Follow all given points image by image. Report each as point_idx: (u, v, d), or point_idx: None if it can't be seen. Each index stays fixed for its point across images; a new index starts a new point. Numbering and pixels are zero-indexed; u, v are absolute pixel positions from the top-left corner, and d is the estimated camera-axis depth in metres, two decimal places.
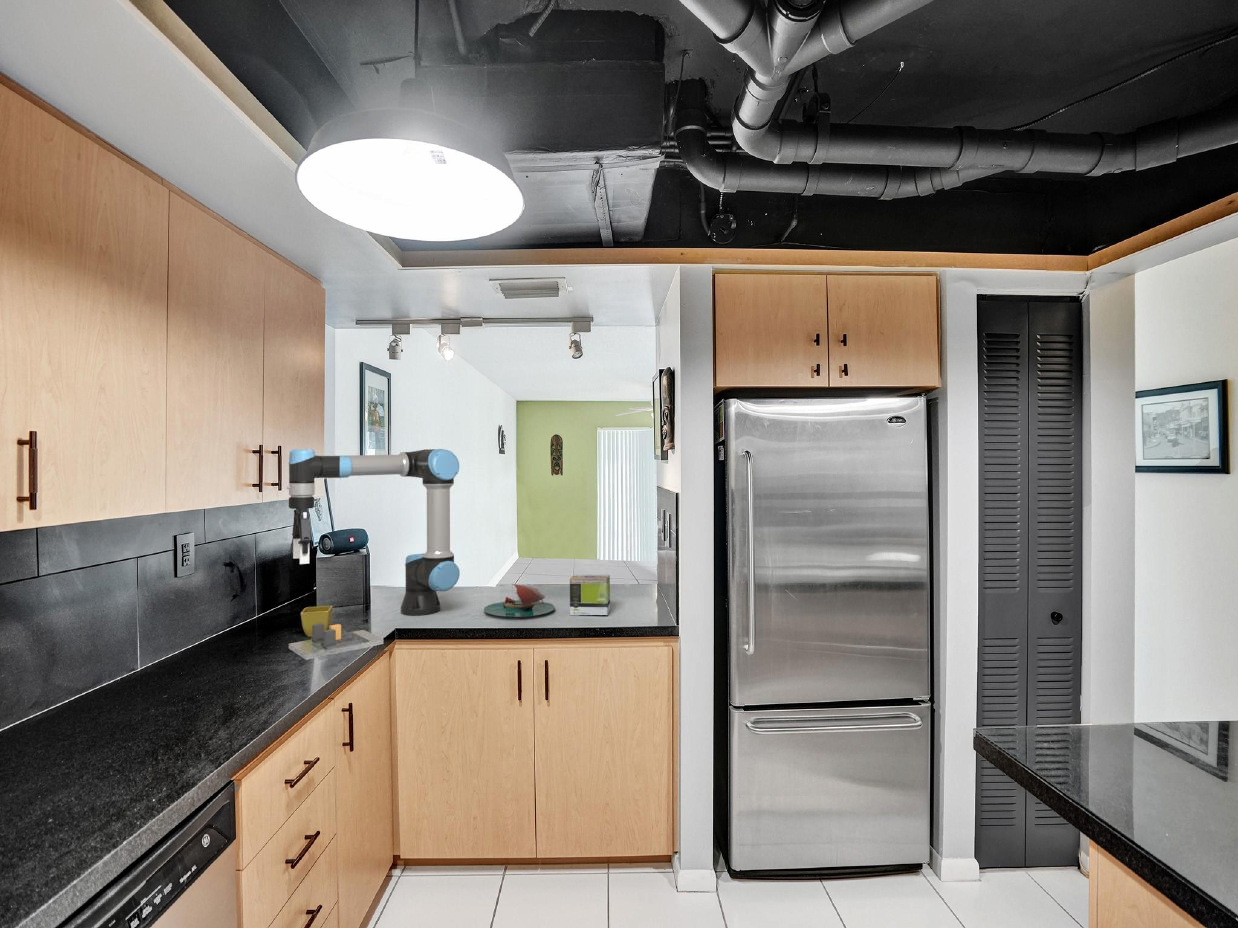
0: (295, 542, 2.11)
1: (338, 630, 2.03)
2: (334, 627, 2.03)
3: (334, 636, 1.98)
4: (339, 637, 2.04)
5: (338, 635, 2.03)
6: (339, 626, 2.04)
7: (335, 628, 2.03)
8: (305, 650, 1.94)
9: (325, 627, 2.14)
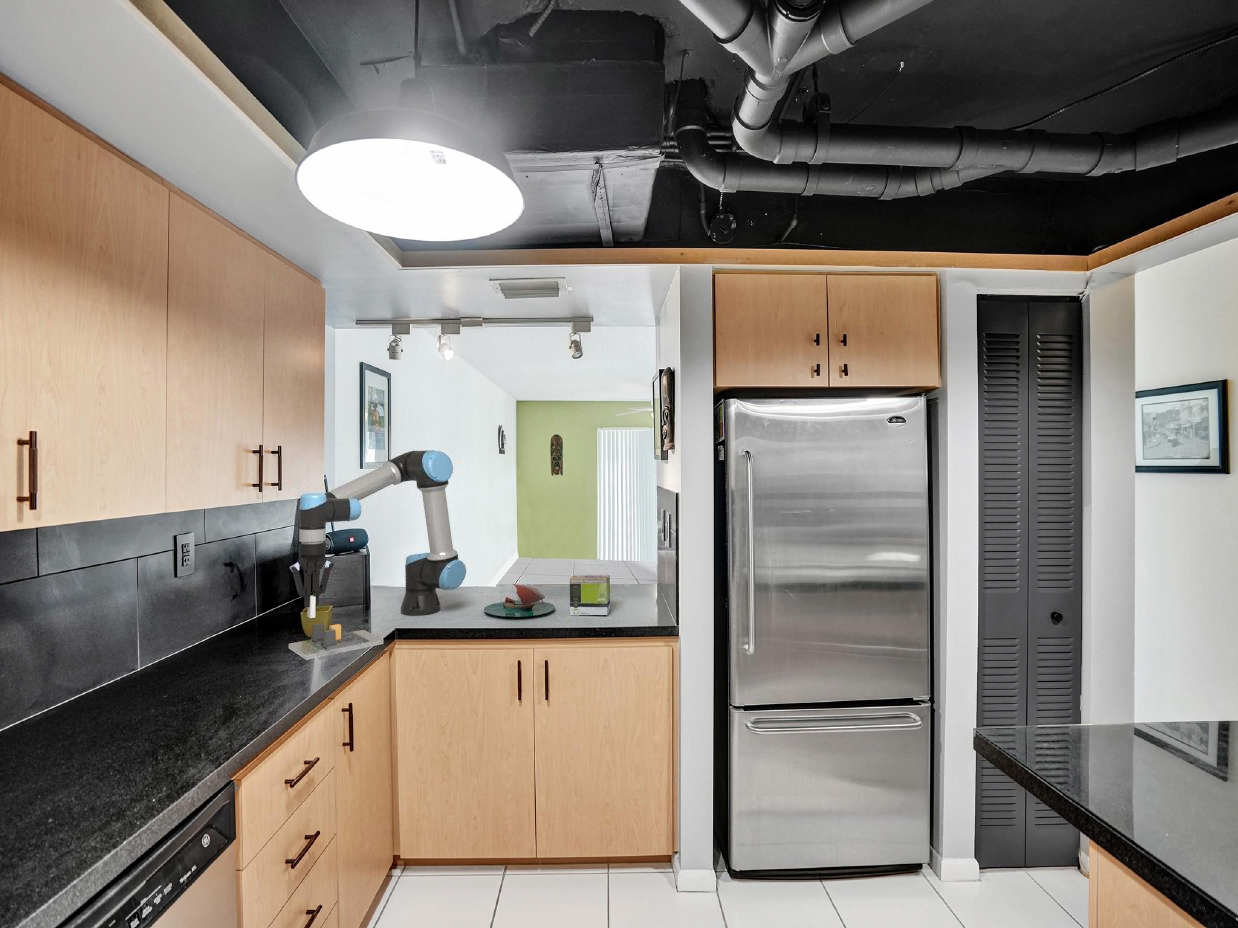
0: None
1: (338, 630, 2.03)
2: (334, 627, 2.03)
3: (334, 636, 1.98)
4: (339, 637, 2.04)
5: (338, 635, 2.03)
6: (339, 626, 2.04)
7: (335, 628, 2.03)
8: (305, 650, 1.94)
9: (325, 627, 2.14)
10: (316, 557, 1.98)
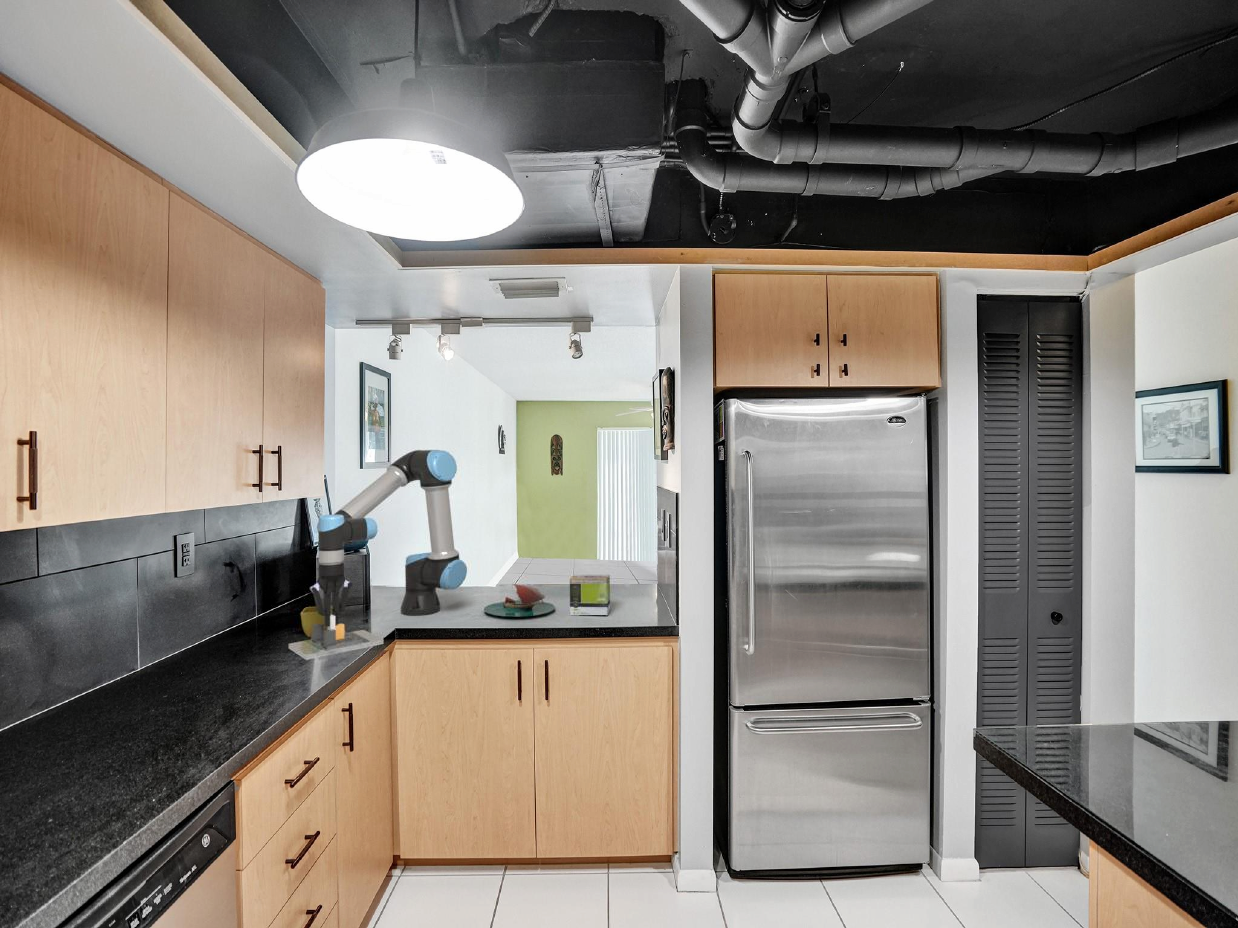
0: None
1: (341, 629, 2.04)
2: (337, 626, 2.03)
3: (334, 636, 1.98)
4: (342, 636, 2.04)
5: (341, 634, 2.04)
6: (342, 625, 2.04)
7: (338, 627, 2.04)
8: (305, 650, 1.94)
9: (325, 627, 2.14)
10: (335, 577, 2.03)
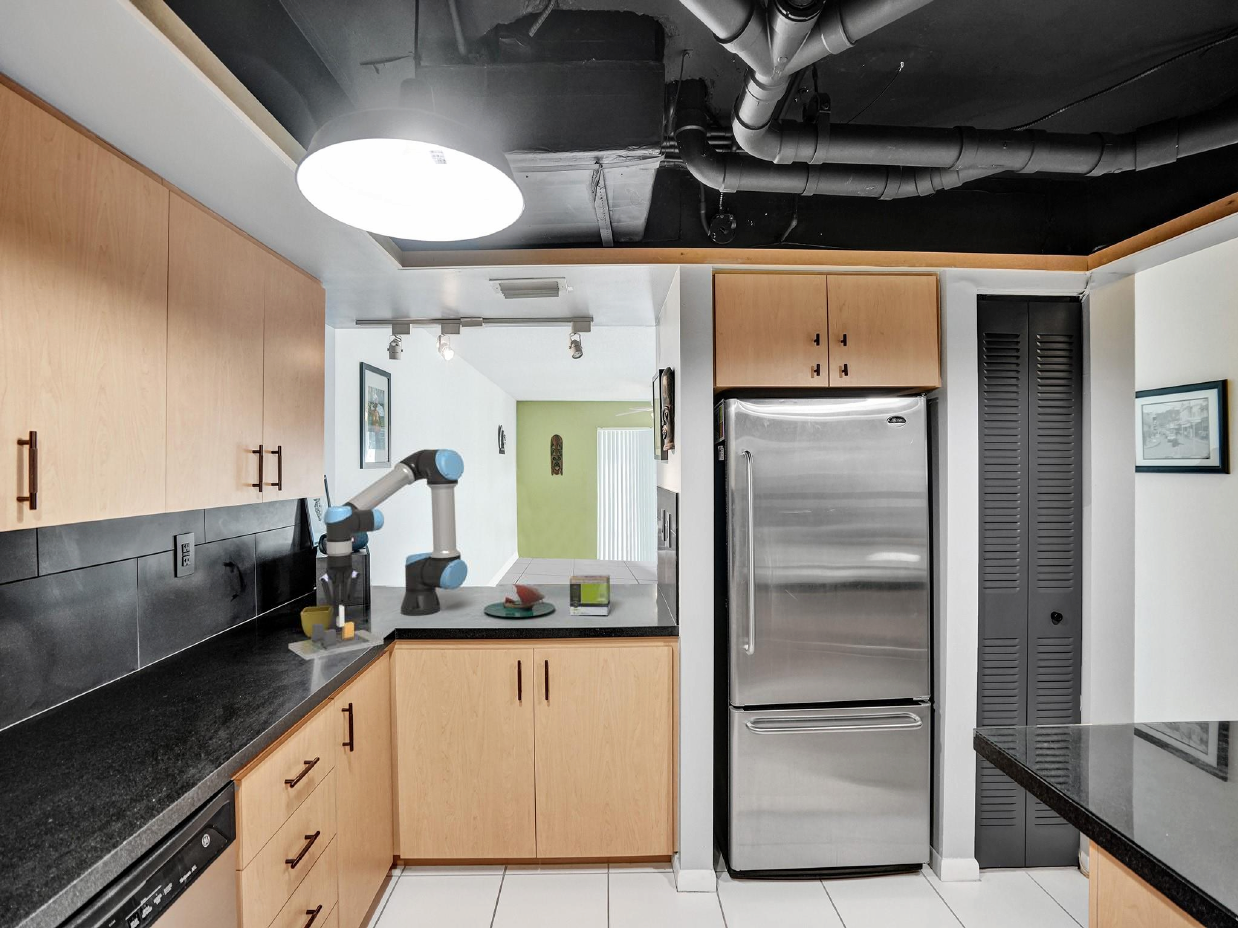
0: None
1: (351, 628, 2.06)
2: (347, 625, 2.06)
3: (334, 636, 1.98)
4: (352, 635, 2.07)
5: (351, 633, 2.06)
6: (352, 624, 2.07)
7: (348, 626, 2.06)
8: (305, 650, 1.94)
9: (325, 627, 2.14)
10: (343, 568, 2.04)
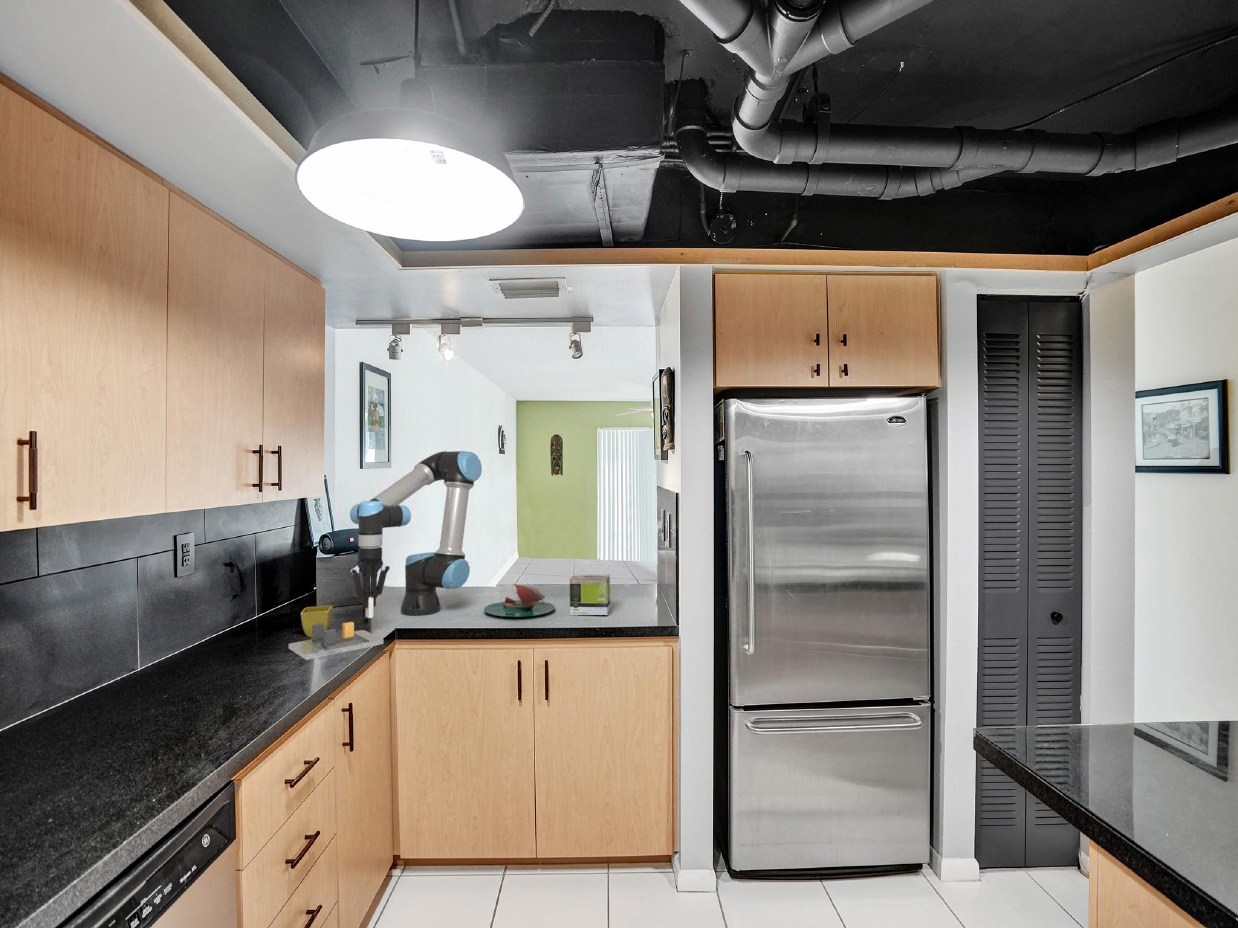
0: None
1: (351, 628, 2.06)
2: (347, 625, 2.06)
3: (334, 636, 1.98)
4: (352, 635, 2.07)
5: (351, 633, 2.06)
6: (352, 624, 2.07)
7: (348, 626, 2.06)
8: (305, 650, 1.94)
9: (325, 627, 2.14)
10: (374, 561, 2.11)
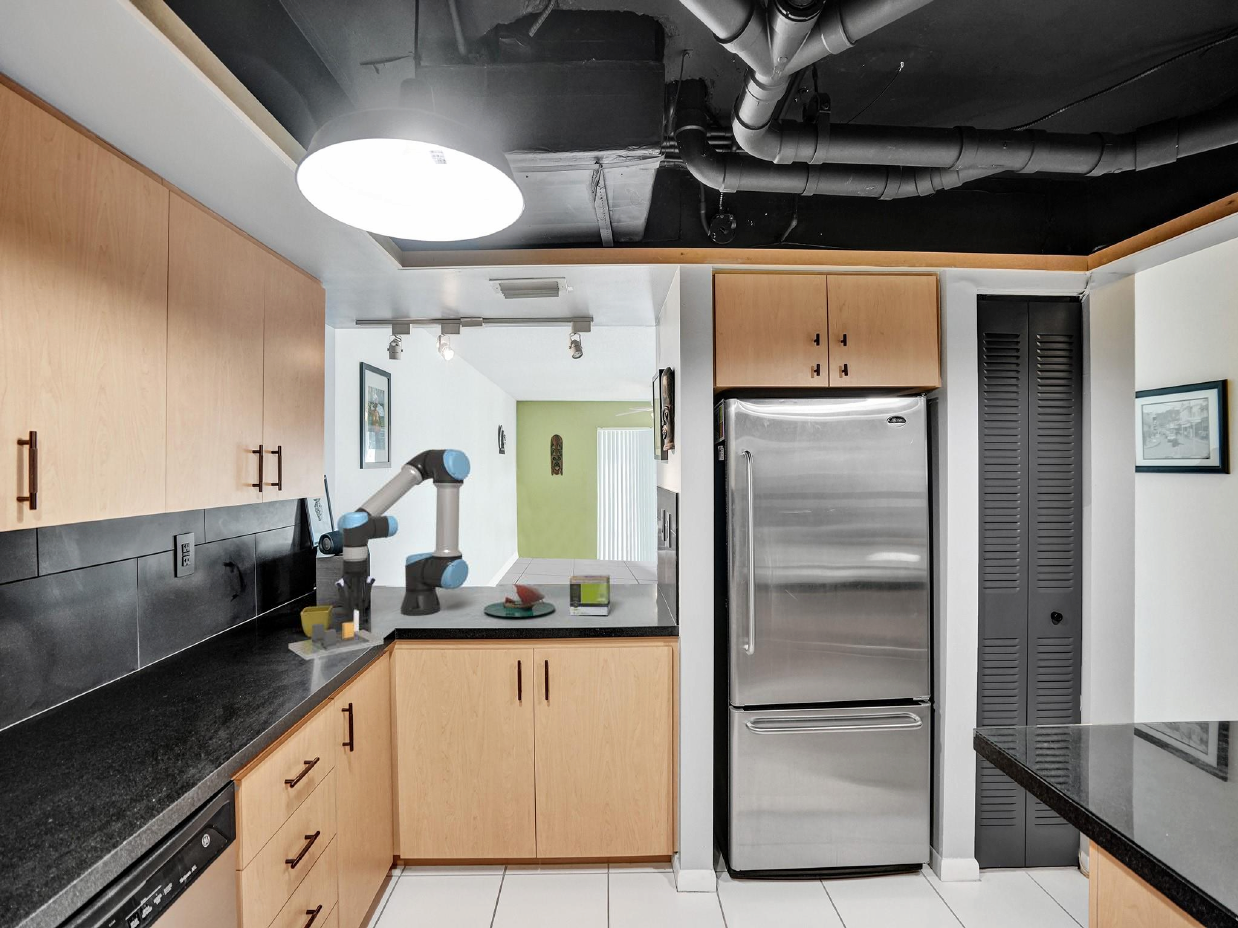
0: None
1: (351, 628, 2.06)
2: (347, 625, 2.06)
3: (334, 636, 1.98)
4: (352, 635, 2.07)
5: (351, 633, 2.06)
6: (352, 624, 2.07)
7: (348, 626, 2.06)
8: (305, 650, 1.94)
9: (325, 627, 2.14)
10: (359, 573, 2.08)
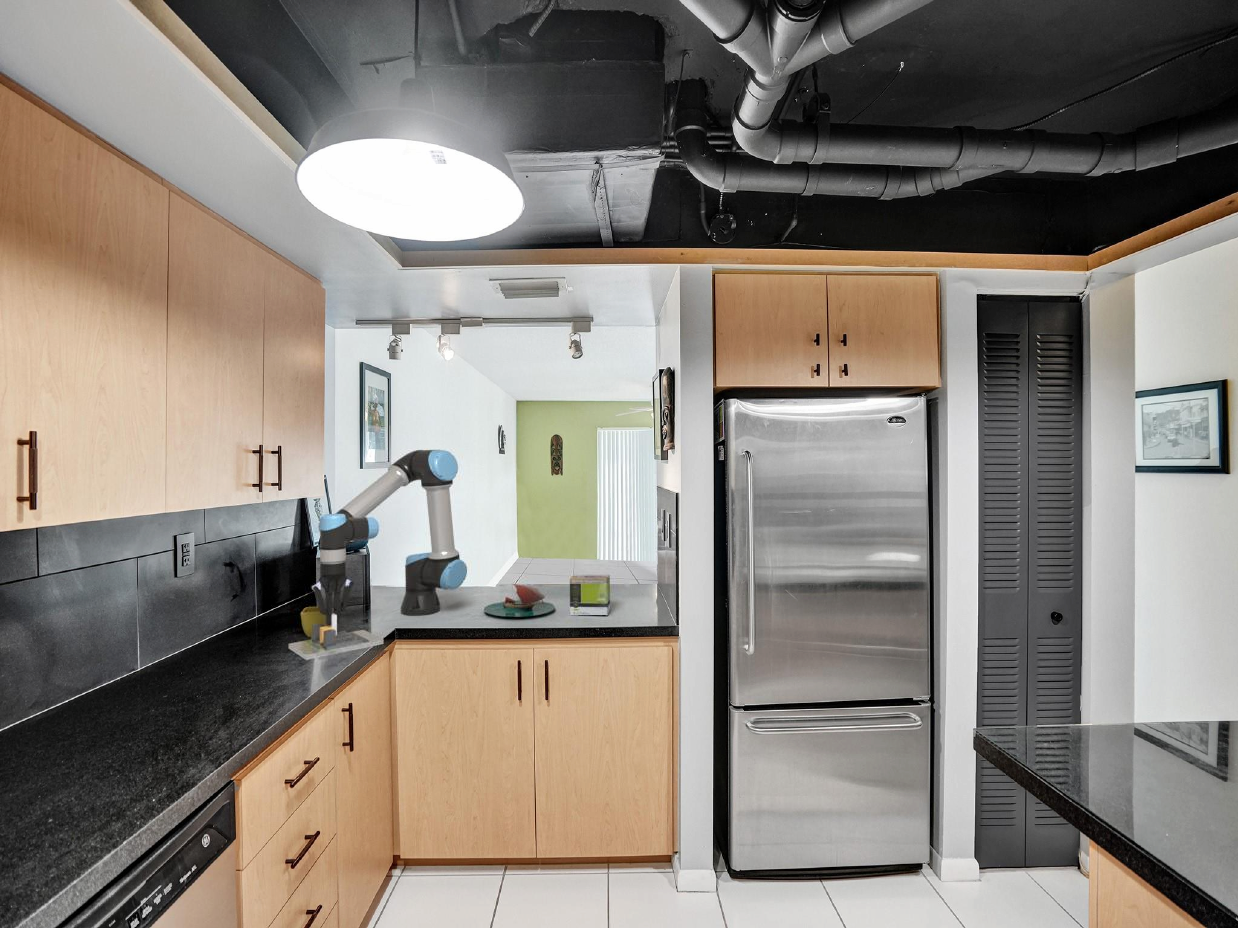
0: None
1: None
2: (325, 629, 2.01)
3: (334, 636, 1.98)
4: None
5: None
6: (330, 628, 2.02)
7: None
8: (305, 650, 1.94)
9: None
10: (337, 576, 2.03)
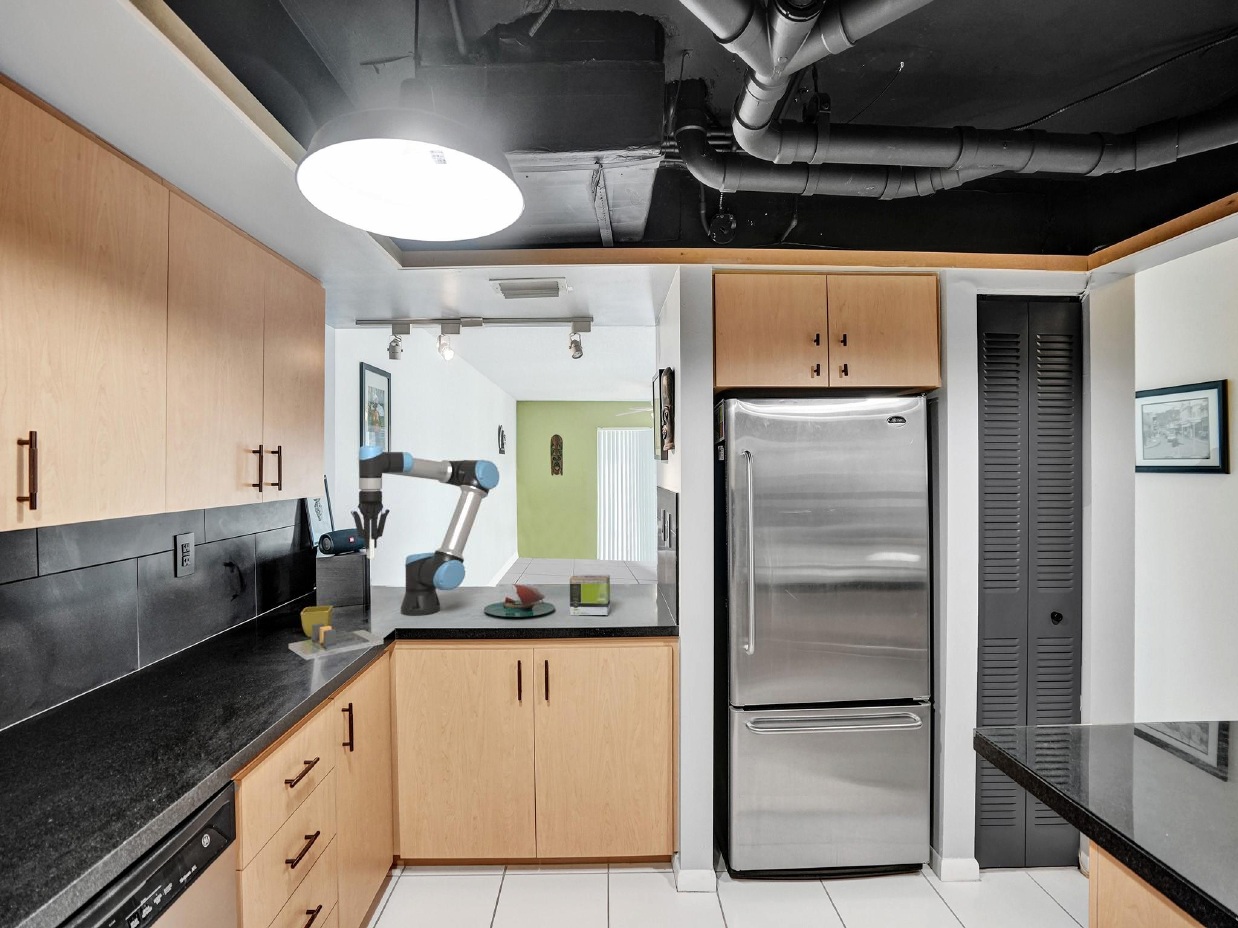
0: None
1: None
2: (324, 629, 2.01)
3: (334, 636, 1.98)
4: None
5: None
6: (329, 628, 2.02)
7: None
8: (305, 650, 1.94)
9: None
10: (374, 504, 2.18)
